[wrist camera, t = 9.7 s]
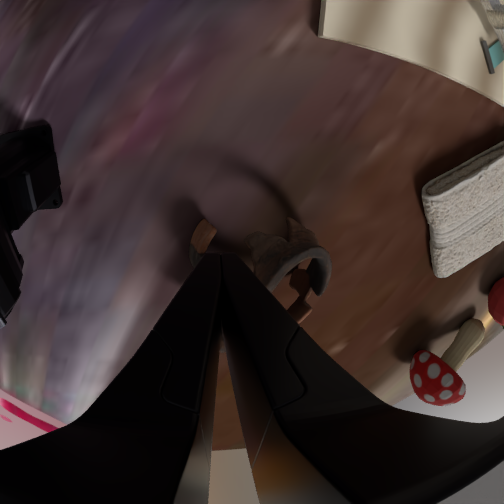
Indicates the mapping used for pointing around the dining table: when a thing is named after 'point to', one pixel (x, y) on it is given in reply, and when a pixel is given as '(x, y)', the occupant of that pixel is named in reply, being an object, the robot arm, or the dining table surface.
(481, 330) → the decorative mushroom
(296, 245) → the pottery mug
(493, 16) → the crank handle
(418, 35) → the napkin
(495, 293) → the tomato
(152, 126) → the dining table surface
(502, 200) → the washcloth
